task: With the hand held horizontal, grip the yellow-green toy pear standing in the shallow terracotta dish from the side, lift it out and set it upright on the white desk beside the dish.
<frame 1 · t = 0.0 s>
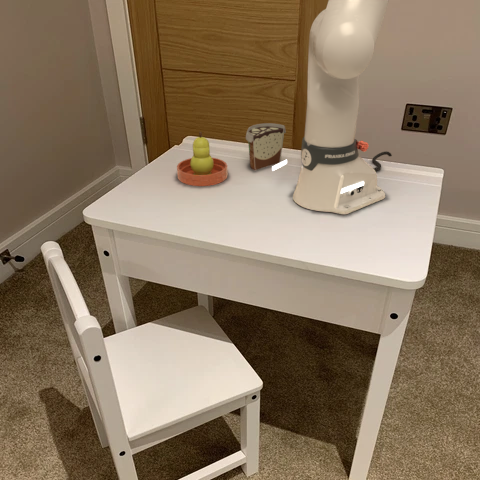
pear: (202, 176, 129), resting on dish
food container: (260, 164, 137), on the table
dish: (202, 177, 129), on the table
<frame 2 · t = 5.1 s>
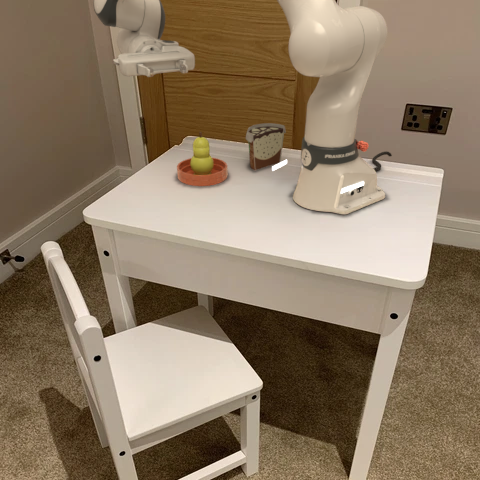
hand: (168, 71, 125), 23 cm above the table, tool horizontal, fingers open, 8 cm apart
nothing on the table moved.
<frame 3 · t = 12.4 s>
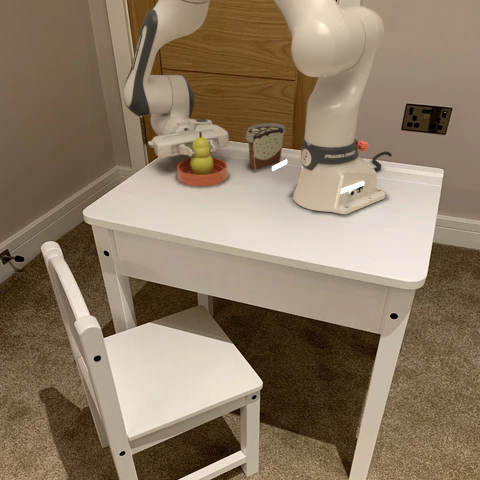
hand: (202, 151, 124), 7 cm above the table, tool horizontal, fingers closed on pear, 4 cm apart
pear: (202, 176, 129), resting on dish, touching gripper
everything else where it was.
when the fingers open (7 cm above the table, at t = 21.2 s): pear stays where it is, on the table.
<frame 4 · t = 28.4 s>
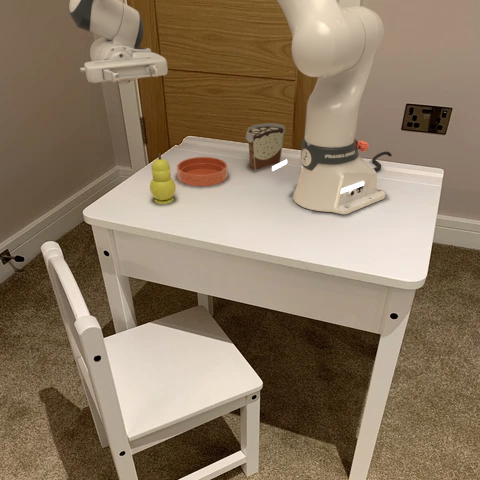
hand: (135, 75, 117), 24 cm above the table, tool horizontal, fingers open, 8 cm apart
pear: (164, 200, 118), on the table
everything else where it was.
at the end: pear inside the target area (0.1 cm from its centre), on the table; pear tilted 0°; the gripper is holding nothing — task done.
